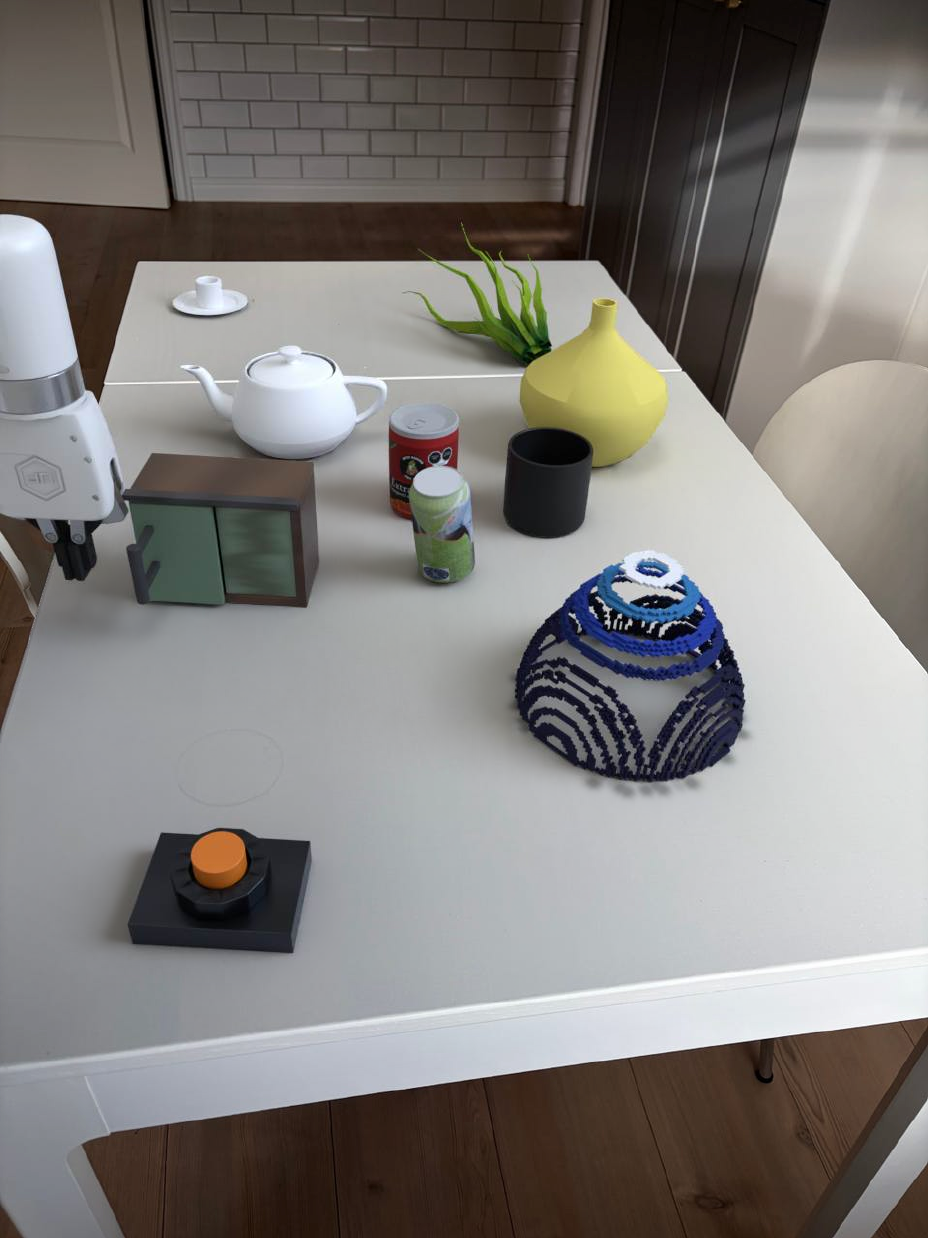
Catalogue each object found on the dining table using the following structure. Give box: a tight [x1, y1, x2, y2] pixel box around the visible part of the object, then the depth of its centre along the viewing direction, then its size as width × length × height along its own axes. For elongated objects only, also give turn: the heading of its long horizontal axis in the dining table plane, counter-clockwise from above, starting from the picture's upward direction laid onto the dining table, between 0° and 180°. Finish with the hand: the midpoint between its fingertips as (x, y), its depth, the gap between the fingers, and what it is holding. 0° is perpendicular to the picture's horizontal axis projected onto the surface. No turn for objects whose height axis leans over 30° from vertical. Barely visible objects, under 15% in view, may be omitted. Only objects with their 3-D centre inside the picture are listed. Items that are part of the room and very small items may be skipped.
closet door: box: [125, 501, 225, 606], centre depth 92 cm, size 8×6×11 cm
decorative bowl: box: [513, 549, 746, 783], centre depth 85 cm, size 20×20×14 cm
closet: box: [121, 452, 320, 608], centre depth 97 cm, size 16×9×13 cm, turn 88°
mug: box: [502, 427, 593, 538], centre depth 112 cm, size 9×12×9 cm
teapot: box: [179, 344, 388, 460], centre depth 123 cm, size 25×16×12 cm, turn 92°
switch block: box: [127, 827, 313, 954], centre depth 69 cm, size 11×8×4 cm
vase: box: [518, 297, 669, 468], centre depth 122 cm, size 18×18×19 cm
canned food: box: [388, 402, 460, 520], centre depth 112 cm, size 8×8×11 cm
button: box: [191, 831, 247, 889], centre depth 68 cm, size 4×4×2 cm
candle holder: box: [171, 275, 249, 316], centre depth 161 cm, size 12×12×4 cm
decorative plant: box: [402, 222, 553, 367], centre depth 152 cm, size 18×30×15 cm, turn 12°
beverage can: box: [409, 466, 476, 584], centre depth 100 cm, size 6×7×12 cm
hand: (80, 571), depth 90 cm, fingers closed
